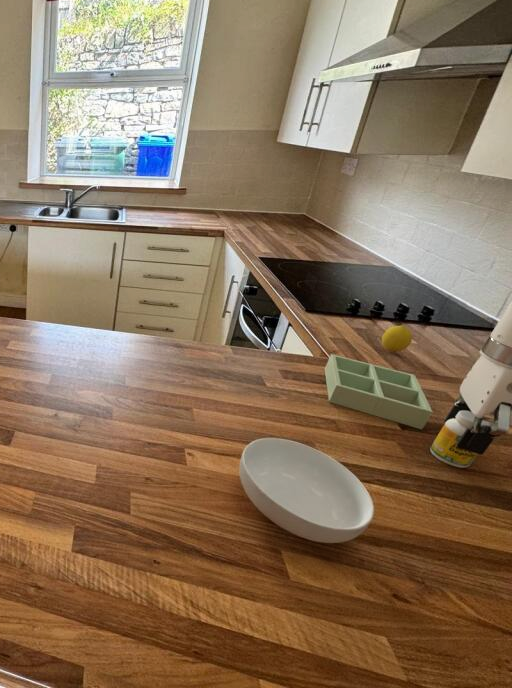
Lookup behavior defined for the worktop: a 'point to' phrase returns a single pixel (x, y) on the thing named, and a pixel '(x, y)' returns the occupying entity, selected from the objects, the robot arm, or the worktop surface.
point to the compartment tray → (377, 391)
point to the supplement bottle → (455, 440)
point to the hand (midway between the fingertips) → (462, 436)
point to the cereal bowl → (305, 490)
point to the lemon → (397, 338)
